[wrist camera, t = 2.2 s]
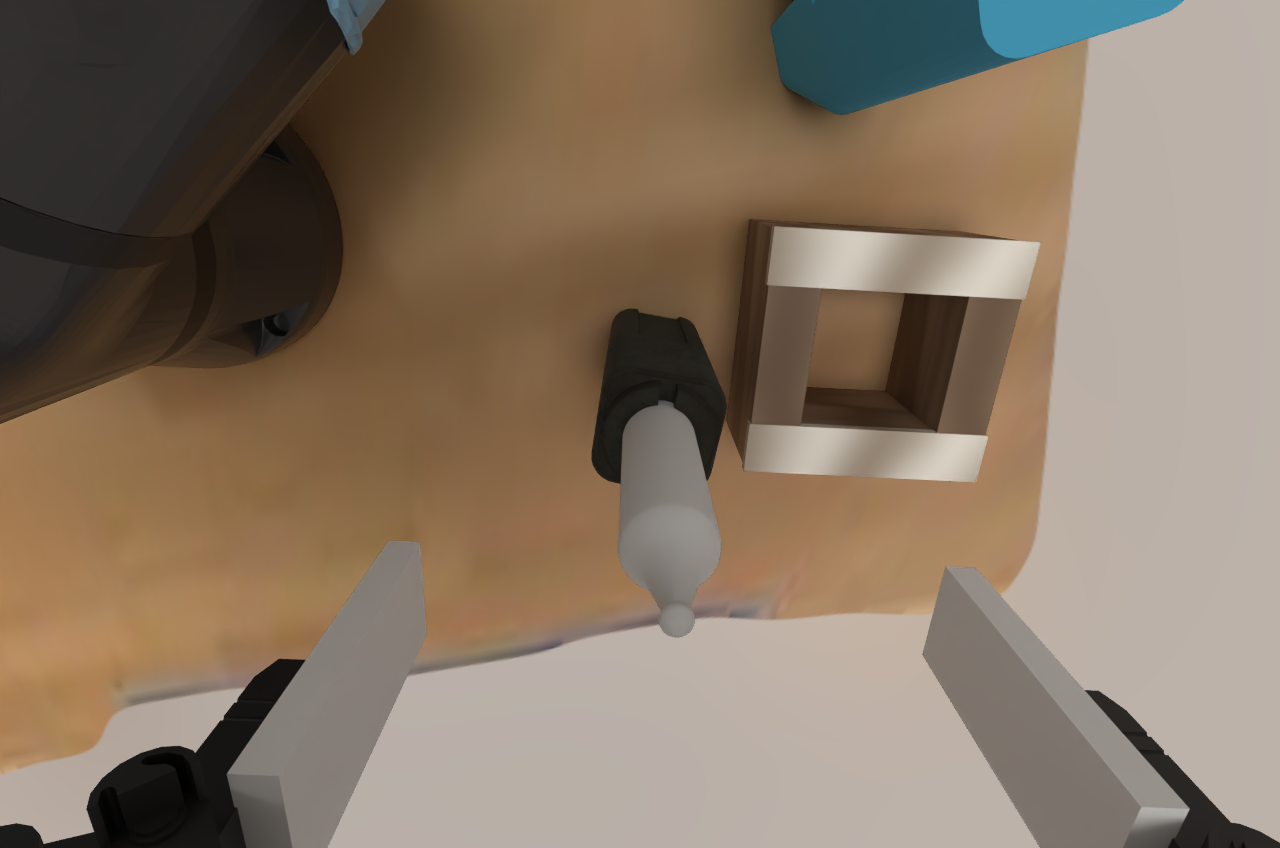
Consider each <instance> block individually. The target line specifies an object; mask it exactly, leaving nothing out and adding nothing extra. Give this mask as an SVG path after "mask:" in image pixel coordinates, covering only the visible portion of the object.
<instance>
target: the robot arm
mask: <svg viewBox="0 0 1280 848" xmlns="http://www.w3.org/2000/svg"><path fill="white" fill-rule="evenodd" d="M385 1H386V0H0V424H1V423H4V422H6V421H9V420H11V419H14V418H16V417H19V416H22V415H24V414H27V413H29V412H32V411H34V410H37V409H39V408H42V407H45V406H47V405H50V404H52V403H55V402H57V401H60V400H62V399H65V398H68V397H70V396H73V395H75V394H78V393H80V392H83V391H85V390H88V389H91V388H93V387H96V386H98V385H101V384H103V383H106V382H108V381H111V380H114V379H116V378H119V377H121V376H124V375H126V374H129V373H131V372H134V371H137V370H139V369H141V368H144V367H146V366H169V367H190V368H223V367H231V366H236V365H241V364H246V363H249V362H253V361H256V360H258V359H261V358H263V357H266V356H268V355H270V354H272V353H274V352H276V351H278V350H281V349H283V348H285V347H287V346H289V345H290V344H292V343H294V342H295V341H297V340H298V339H300V338H301V337H302V336H304V335H305V334H306V333H307V332H308V331H309V330H310V329H311V328H312V327H313V326H314V325H315V324H316V323H317V322H318V320H319V319H320V318H321V317H322V315H323V314H324V312H325V310H326V309H327V307H328V305H329V303H330V302H331V299H332V297H333V295H334V292H335V289H336V286H337V283H338V279H339V275H340V270H341V263H342V233H341V226H340V220H339V216H338V211H337V208H336V204H335V201H334V198H333V195H332V192H331V190H330V187H329V185H328V183H327V180H326V178H325V176H324V174H323V172H322V170H321V168H320V167H319V165H318V163H317V162H316V160H315V158H314V157H313V155H312V154H311V152H310V151H309V150H308V148H307V147H306V145H305V144H304V143H303V142H302V140H301V139H300V138H299V137H298V135H297V134H296V133H295V132H294V131H293V130H292V129H291V128H290V127H289V126H288V125H287V124H288V122H289V121H290V120H291V119H292V118H293V116H294V115H295V114H296V113H297V112H298V110H299V109H300V108H301V107H302V106H303V104H304V103H305V102H306V101H307V100H308V98H309V97H310V96H311V95H312V94H313V93H314V91H315V90H316V89H317V88H318V87H319V85H320V84H321V83H322V82H323V81H324V79H325V78H326V77H327V76H328V75H329V73H330V72H331V71H332V70H333V69H334V67H335V66H336V65H337V64H338V63H339V62H340V60H341V59H342V58H343V57H344V56H345V54H346V53H347V52H349V53H350V54H351V55H352V56H354V55H355V54H356V52H357V51H358V50H359V49H360V48H361V46H362V43H363V39H362V32H363V31H364V29H365V28H366V26H367V25H368V24H369V22H370V21H371V20H372V18H373V17H374V16H375V14H376V13H377V12H378V10H379V9H380V8H381V6H382V5H383V4H384V2H385ZM426 635H427V629H426V615H425V602H424V588H423V575H422V561H421V547H420V542H408V541H388V542H387V544H386V545H385V547H384V548H383V550H382V551H381V553H380V554H379V555H378V557H377V558H376V560H375V561H374V563H373V564H372V565H371V567H370V568H369V570H368V571H367V573H366V574H365V576H364V577H363V578H362V580H361V581H360V583H359V584H358V586H357V587H356V589H355V590H354V591H353V593H352V594H351V596H350V597H349V599H348V600H347V601H346V603H345V604H344V606H343V607H342V609H341V610H340V612H339V613H338V614H337V616H336V617H335V619H334V620H333V622H332V623H331V624H330V626H329V627H328V629H327V630H326V632H325V633H324V635H323V636H322V637H321V639H320V640H319V642H318V643H317V645H316V646H315V648H314V649H313V650H312V652H311V653H310V655H309V656H308V658H307V659H306V660H295V659H278V660H277V661H275V662H274V663H273V664H271V665H270V666H269V667H267V668H266V669H265V670H263V671H262V672H260V673H259V674H258V675H256V676H255V677H254V678H253V679H252V681H251V682H250V683H249V684H248V686H247V687H246V688H245V690H244V691H243V692H242V693H241V695H240V696H239V698H238V701H237V703H234V704H233V705H232V706H231V708H230V709H229V710H228V712H227V713H226V714H225V715H224V719H223V721H220V722H219V723H218V724H217V726H216V727H215V728H214V730H213V731H212V732H211V733H210V735H209V736H208V737H207V739H206V740H205V741H204V743H203V744H202V745H201V746H200V748H199V749H198V750H197V752H196V753H194V751H193V750H190V749H187V748H184V747H181V746H170V747H159V748H156V749H153V750H150V751H146V752H143V753H140V754H138V755H136V756H134V757H133V758H130V759H129V760H127V761H125V762H123V763H121V764H120V765H118V766H117V767H116V768H114V769H113V770H112V771H111V772H109V773H108V774H107V775H106V776H105V777H103V778H102V779H101V781H100V782H99V783H98V784H97V786H96V787H95V788H94V790H93V791H92V792H91V794H90V797H89V801H88V805H87V811H88V815H89V817H90V820H91V823H92V826H93V829H94V832H93V833H88V834H85V835H80V836H76V837H72V838H67V839H63V840H59V841H55V842H50V843H46V844H43V841H42V839H41V836H40V834H39V833H38V832H37V831H36V830H35V829H34V828H33V826H28V825H22V824H17V823H16V824H11V825H5V826H0V848H327V847H328V845H329V843H330V841H331V839H332V837H333V834H334V832H335V830H336V828H337V826H338V824H339V821H340V819H341V817H342V815H343V813H344V811H345V808H346V806H347V804H348V802H349V800H350V798H351V796H352V793H353V791H354V789H355V787H356V785H357V783H358V781H359V778H360V776H361V774H362V772H363V770H364V768H365V765H366V763H367V761H368V759H369V757H370V755H371V753H372V751H373V748H374V746H375V744H376V742H377V740H378V737H379V736H380V733H381V731H382V729H383V727H384V725H385V723H386V720H387V718H388V716H389V714H390V712H391V710H392V708H393V705H394V703H395V701H396V699H397V697H398V695H399V693H400V690H401V688H402V686H403V684H404V682H405V680H406V678H407V675H408V673H409V671H410V669H411V667H412V665H413V663H414V660H415V658H416V656H417V654H418V652H419V650H420V647H421V645H422V643H423V641H424V639H425V637H426ZM922 655H923V657H924V658H925V660H926V662H927V663H928V665H929V666H930V668H931V670H932V671H933V673H934V675H935V676H936V678H937V679H938V681H939V683H940V685H941V686H942V688H943V689H944V691H945V693H946V694H947V696H948V698H949V699H950V701H951V702H952V704H953V706H954V708H955V709H956V711H957V712H958V714H959V716H960V717H961V719H962V721H963V722H964V724H965V725H966V727H967V729H968V730H969V732H970V734H971V735H972V737H973V739H974V740H975V742H976V744H977V745H978V747H979V749H980V750H981V752H982V753H983V755H984V757H985V758H986V760H987V762H988V763H989V765H990V767H991V768H992V770H993V771H994V773H995V775H996V776H997V778H998V780H999V781H1000V783H1001V784H1002V786H1003V788H1004V790H1005V791H1006V793H1007V794H1008V796H1009V798H1010V799H1011V801H1012V803H1013V804H1014V806H1015V808H1016V809H1017V811H1018V812H1019V814H1020V816H1021V817H1022V819H1023V821H1024V822H1025V824H1026V825H1027V827H1028V829H1029V831H1030V832H1031V834H1032V835H1033V837H1034V839H1035V840H1036V842H1037V844H1038V845H1039V847H1040V848H1280V843H1279V842H1277V841H1275V840H1274V839H1272V838H1270V837H1269V836H1267V835H1265V834H1263V833H1262V832H1260V831H1257V830H1255V829H1252V828H1249V827H1247V826H1244V825H1241V824H1236V823H1231V822H1230V821H1229V820H1228V819H1227V818H1226V817H1225V816H1224V815H1223V814H1222V813H1221V812H1220V810H1218V808H1217V807H1216V806H1215V805H1214V804H1213V803H1212V802H1211V801H1210V800H1209V799H1208V798H1207V797H1206V795H1205V794H1204V793H1203V792H1202V791H1201V790H1200V789H1199V788H1198V787H1197V786H1196V785H1195V784H1194V783H1193V782H1192V780H1191V779H1190V778H1189V777H1188V776H1187V775H1186V774H1185V773H1184V772H1183V771H1182V770H1181V769H1180V768H1179V766H1178V765H1177V764H1176V763H1175V762H1174V761H1173V760H1172V759H1171V758H1170V757H1169V756H1168V755H1165V754H1164V750H1163V749H1162V748H1161V747H1160V746H1159V745H1158V744H1157V743H1156V742H1155V741H1154V740H1153V739H1152V738H1151V737H1148V736H1147V732H1146V731H1145V730H1144V729H1143V728H1142V727H1141V726H1140V725H1139V724H1138V723H1137V721H1136V720H1135V719H1134V718H1133V717H1132V716H1131V715H1130V714H1129V713H1128V712H1127V711H1126V710H1125V709H1123V708H1122V707H1121V706H1119V705H1118V704H1116V703H1115V702H1114V701H1112V700H1111V699H1109V698H1108V697H1106V696H1105V695H1103V694H1102V693H1101V692H1099V691H1091V690H1090V691H1089V690H1084V689H1083V688H1082V687H1081V686H1080V685H1079V684H1078V682H1077V681H1076V680H1075V679H1074V678H1073V677H1072V676H1071V675H1070V673H1069V672H1068V671H1067V670H1066V669H1065V668H1064V667H1063V666H1062V665H1061V663H1060V662H1059V661H1058V660H1057V659H1056V658H1055V657H1054V655H1053V654H1052V653H1051V652H1050V651H1049V650H1048V649H1047V648H1046V647H1045V645H1044V644H1043V643H1042V642H1041V641H1040V640H1039V639H1038V637H1037V636H1036V635H1035V634H1034V633H1033V632H1032V631H1031V630H1030V628H1029V627H1027V625H1026V624H1025V623H1024V622H1023V621H1022V620H1021V618H1020V617H1019V616H1018V615H1017V614H1016V613H1015V612H1014V610H1013V609H1012V608H1011V607H1010V606H1009V605H1008V604H1007V603H1006V602H1005V600H1004V599H1003V598H1002V597H1001V596H1000V595H999V593H998V592H997V591H996V590H995V589H994V588H993V587H992V586H991V584H990V583H989V582H988V581H987V580H986V579H985V578H984V577H983V575H982V574H981V573H980V572H979V571H978V570H977V569H976V568H975V567H953V566H945V570H944V574H943V578H942V581H941V585H940V589H939V593H938V597H937V601H936V604H935V608H934V612H933V616H932V620H931V624H930V628H929V631H928V635H927V639H926V643H925V647H924V650H923V654H922Z"/></svg>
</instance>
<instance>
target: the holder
mask: <svg viewBox="0 0 1280 848" xmlns="http://www.w3.org/2000/svg"><path fill="white" fill-rule="evenodd" d="M1040 243H1041V242H1035V241H1019V240H1013V239H1006V238H1000V237H993V236H986V235H980V234H973V233H967V232H956V231H939V230H922V229H905V228H888V227H872V226H855V225H838V224H821V223H804V222H788V221H771V220H754V219H750V220H749V229H748V238H747V247H746V256H745V265H744V274H743V282H742V291H741V300H740V309H739V318H738V327H737V336H736V345H735V354H734V363H733V372H732V380H731V389H730V398H729V407H728V416H727V424H728V426H729V429H730V431H731V434H732V436H733V439H734V442H735V444H736V447H737V449H738V452H739V454H740V457H741V459H742V462H743V464H742V468H743V471H753V472H774V473H795V474H815V475H836V476H857V477H878V478H899V479H920V480H941V481H962V482H976V480H977V476H978V473H979V469H980V465H981V461H982V458H983V454H984V450H985V447H986V443H987V439H988V435H986V431H987V427H988V424H989V420H990V416H991V412H992V409H993V405H994V401H995V398H996V394H997V390H998V386H999V383H1000V379H1001V375H1002V371H1003V368H1004V364H1005V360H1006V357H1007V353H1008V349H1009V345H1010V342H1011V338H1012V334H1013V330H1014V327H1015V323H1016V319H1017V315H1018V312H1019V308H1020V304H1021V301H1022V300H1025V298H1026V295H1027V291H1028V287H1029V284H1030V280H1031V276H1032V273H1033V269H1034V265H1035V261H1036V258H1037V254H1038V250H1039V247H1040ZM822 288H827V289H845V290H862V291H880V292H898V293H906V294H905V299H904V304H903V309H902V314H901V319H900V324H899V329H898V334H897V339H896V344H895V349H894V354H893V358H892V363H891V368H890V373H889V378H888V383H887V388H886V391H870V390H850V389H831V388H812V387H807V381H808V375H809V368H810V362H811V355H812V349H813V343H814V336H815V330H816V323H817V317H818V311H819V304H820V298H821V291H822Z"/></svg>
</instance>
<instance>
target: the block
mask: <svg viewBox="0 0 1280 848" xmlns="http://www.w3.org/2000/svg"><path fill="white" fill-rule="evenodd" d="M1183 1H1184V0H794V1H793V2H792V3H791V5H790V6H789V7H788V8H787V9H786V10H785V11H784V12H783V14H782V15H781V16H780V17H779V18H778V19H777V20H776V21H775V23H774V24H773V25H772V26H771V31H772V37H773V42H774V48H775V53H776V58H777V64H778V69H779V74H780V78H781V81H782V82H783V84H784V85H785V86H786V87H787V88H788V89H790V90H792V91H793V92H795V93H797V94H799V95H801V96H803V97H804V98H806V99H808V100H810V101H812V102H814V103H815V104H817V105H819V106H821V107H823V108H825V109H826V110H828V111H830V112H832V113H834V114H839V115H844V114H849V113H852V112H855V111H858V110H861V109H865V108H868V107H871V106H874V105H878V104H881V103H884V102H887V101H890V100H894V99H897V98H900V97H903V96H907V95H910V94H913V93H916V92H919V91H923V90H926V89H929V88H932V87H935V86H938V85H942V84H945V83H948V82H951V81H954V80H958V79H961V78H964V77H967V76H970V75H973V74H977V73H980V72H983V71H986V70H989V69H992V68H996V67H999V66H1002V65H1005V64H1008V63H1011V62H1015V61H1018V60H1021V59H1024V58H1027V57H1030V56H1034V55H1037V54H1040V53H1043V52H1046V51H1050V50H1053V49H1056V48H1059V47H1062V46H1065V45H1069V44H1072V43H1075V42H1078V41H1081V40H1084V39H1088V38H1091V37H1094V36H1097V35H1100V34H1103V33H1106V32H1110V31H1113V30H1116V29H1119V28H1122V27H1126V26H1129V25H1132V24H1135V23H1138V22H1141V21H1145V20H1147V19H1151V18H1154V17H1157V16H1160V15H1162V14H1164V13H1167V12H1169V11H1171V10H1173V9H1174V8H1175V7H1176V6H1178V5H1179V4H1180V3H1182V2H1183Z"/></svg>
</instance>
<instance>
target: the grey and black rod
mask: <svg viewBox="0 0 1280 848" xmlns="http://www.w3.org/2000/svg"><path fill="white" fill-rule="evenodd" d="M726 408H727V403H726V398H725V396H724V393H723V391H722V389H721V386H720V384H719V382H718V379H717V377H716V375H715V372H714V370H713V368H712V365H711V363H710V360H709V358H708V356H707V353H706V351H705V349H704V346H703V344H702V342H701V339H700V337H699V335H698V332H697V330H696V328H695V326H694V325H693V324H692V322H690V321H689V320H687V319H685V318H682V317H679V318H678V319H677V320H676V319H670V318H665V317H659V316H654V315H648V314H643V313H639V312H638V310H637V309H627V310H624V311H622V312H620V313H619V314H618V315H617V316H616V317H615V319H614V321H613V324H612V328H611V334H610V340H609V346H608V351H607V357H606V363H605V369H604V375H603V382H602V388H601V395H600V401H599V408H598V414H597V421H596V427H595V434H594V440H593V447H592V463H593V466H594V468H595V470H596V471H597V473H598V474H599V475H600V476H601V477H603V478H604V479H606V480H608V481H611V482H614V483H620V484H621V489H620V513H619V537H618V554H619V558H620V562H621V565H622V567H623V569H624V570H625V572H626V574H627V575H628V577H629V578H631V579H632V580H633V581H634V582H635V583H636V584H637V585H639V586H641V587H642V588H644V589H646V590H648V591H650V593H651V594H652V596H653V598H654V599H655V601H656V603H657V604H658V606H659V608H660V610H661V612H660V615H659V625H660V627H661V629H662V630H663V632H664V633H666V634H667V635H669V636H672V637H682V636H685V635H687V634H688V633H689V632H690V631H691V630H692V628H693V626H694V623H695V617H694V613H693V611H692V610H691V605H692V602H693V599H694V596H695V594H696V591H697V588H698V586H700V585H701V584H702V583H704V582H705V581H706V580H707V579H708V578H709V577H710V576H711V574H712V573H713V572H714V571H715V569H716V566H717V564H718V562H719V559H720V553H721V539H720V534H719V529H718V525H717V521H716V517H715V513H714V509H713V505H712V501H711V497H710V493H709V489H708V485H707V480H708V479H709V477H710V474H711V471H712V467H713V463H714V459H715V455H716V451H717V447H718V443H719V439H720V435H721V431H722V427H723V423H724V419H725V415H726Z"/></svg>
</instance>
